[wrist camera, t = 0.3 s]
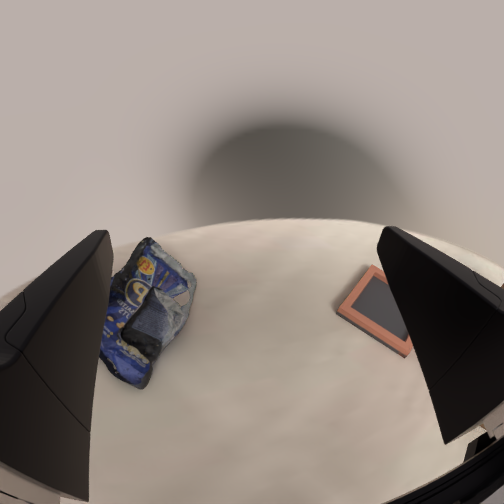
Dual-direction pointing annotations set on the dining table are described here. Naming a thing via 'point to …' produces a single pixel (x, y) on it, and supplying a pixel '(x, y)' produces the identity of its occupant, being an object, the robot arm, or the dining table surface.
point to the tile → (376, 312)
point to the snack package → (143, 312)
